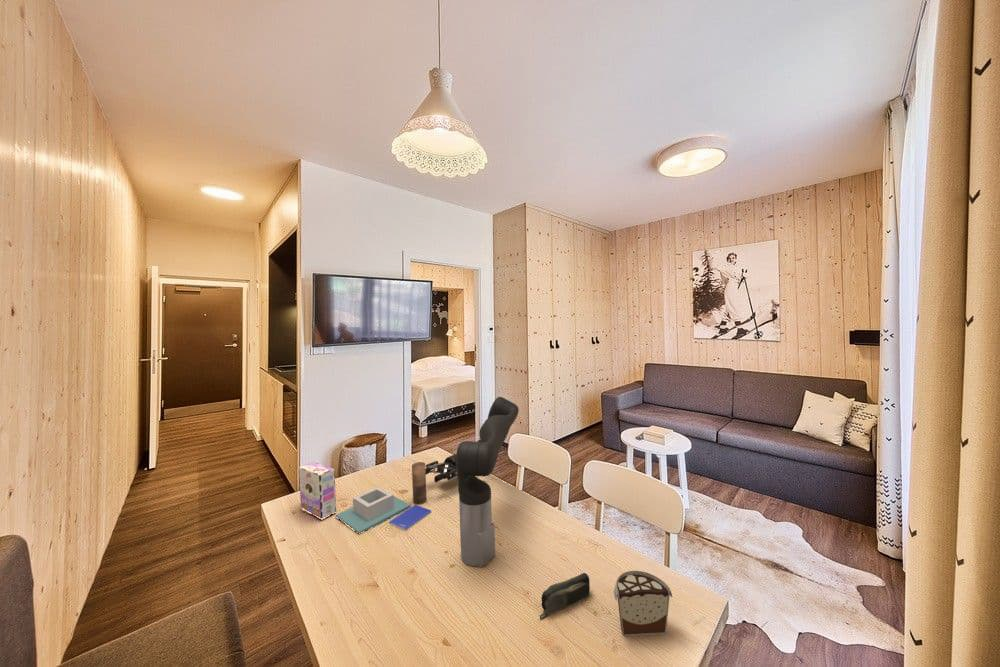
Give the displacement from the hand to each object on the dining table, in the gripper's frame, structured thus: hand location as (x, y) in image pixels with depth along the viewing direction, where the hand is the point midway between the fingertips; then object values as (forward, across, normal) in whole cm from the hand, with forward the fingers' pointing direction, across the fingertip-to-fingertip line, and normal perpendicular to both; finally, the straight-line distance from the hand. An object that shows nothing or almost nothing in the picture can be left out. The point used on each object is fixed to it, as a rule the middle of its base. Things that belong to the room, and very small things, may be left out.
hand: (427, 476), depth 132 cm
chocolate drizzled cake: (+7, +82, +8) cm, 82 cm away
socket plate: (+19, -7, +8) cm, 22 cm away
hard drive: (+13, +7, +9) cm, 17 cm away
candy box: (+31, -24, +8) cm, 40 cm away
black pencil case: (+13, +66, +8) cm, 68 cm away
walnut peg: (+4, 0, +8) cm, 9 cm away
